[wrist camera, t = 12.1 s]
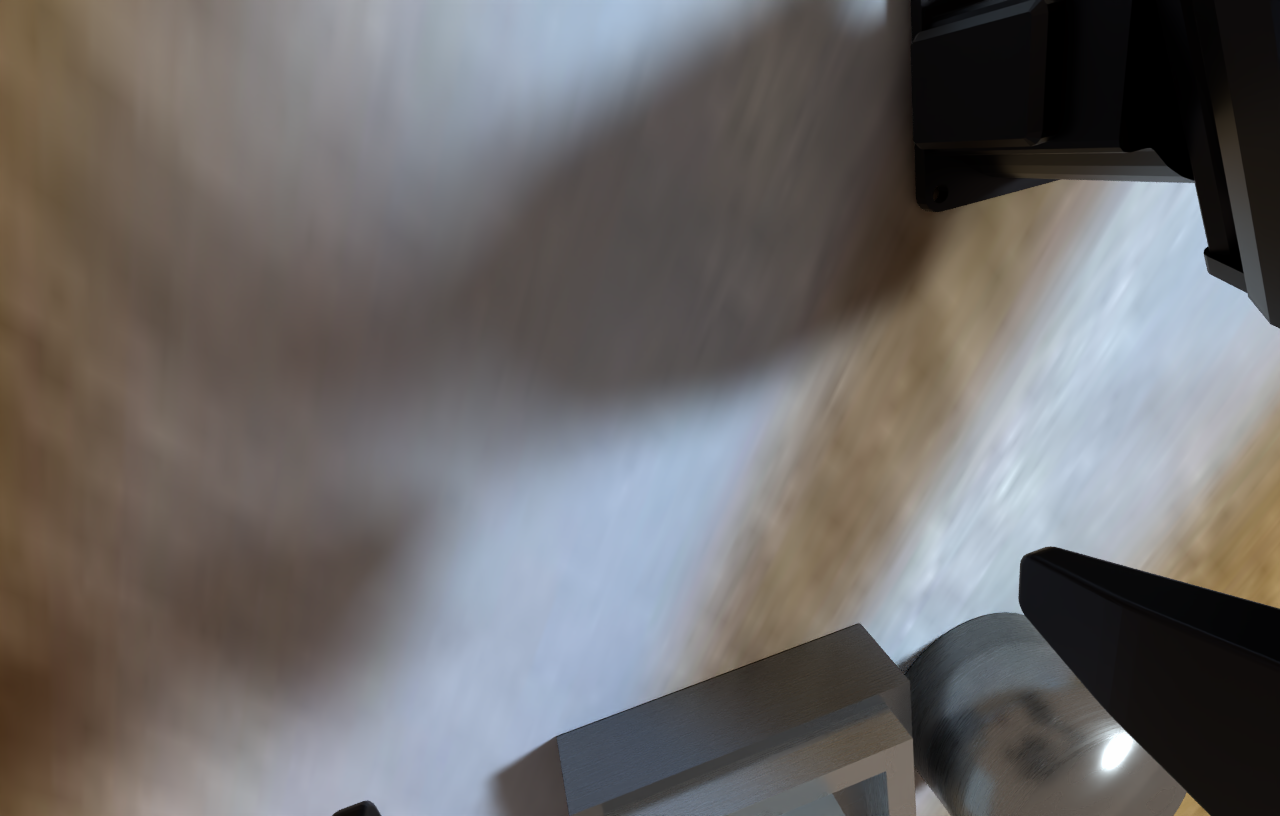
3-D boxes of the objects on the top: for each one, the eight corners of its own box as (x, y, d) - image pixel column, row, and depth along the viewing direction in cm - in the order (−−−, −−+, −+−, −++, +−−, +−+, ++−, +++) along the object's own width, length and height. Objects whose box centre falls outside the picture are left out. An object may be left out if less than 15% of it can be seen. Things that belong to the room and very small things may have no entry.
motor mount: (1059, 548, 26) (1219, 652, 20) (1043, 749, 30) (1169, 877, 25) (556, 737, 22) (585, 920, 17) (627, 927, 27) (668, 1118, 22)
